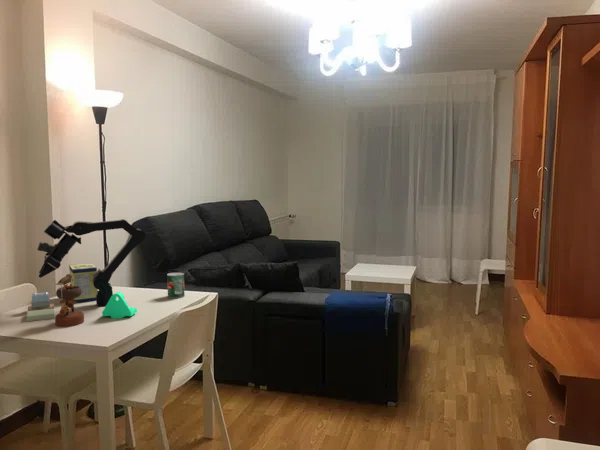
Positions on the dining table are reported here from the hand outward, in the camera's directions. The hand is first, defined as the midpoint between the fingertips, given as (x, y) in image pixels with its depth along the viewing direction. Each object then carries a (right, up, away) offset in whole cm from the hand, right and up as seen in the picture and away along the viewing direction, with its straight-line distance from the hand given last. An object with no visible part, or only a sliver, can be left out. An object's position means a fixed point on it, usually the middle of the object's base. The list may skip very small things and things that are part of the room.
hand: (39, 275), depth 224 cm
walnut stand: (0, -16, +1) cm, 16 cm away
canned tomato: (+52, -13, +27) cm, 60 cm away
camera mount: (+36, -17, -6) cm, 40 cm away
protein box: (+9, -14, +24) cm, 29 cm away
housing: (0, -14, +1) cm, 14 cm away
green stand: (+4, -17, -8) cm, 19 cm away
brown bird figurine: (+20, -18, -15) cm, 31 cm away
